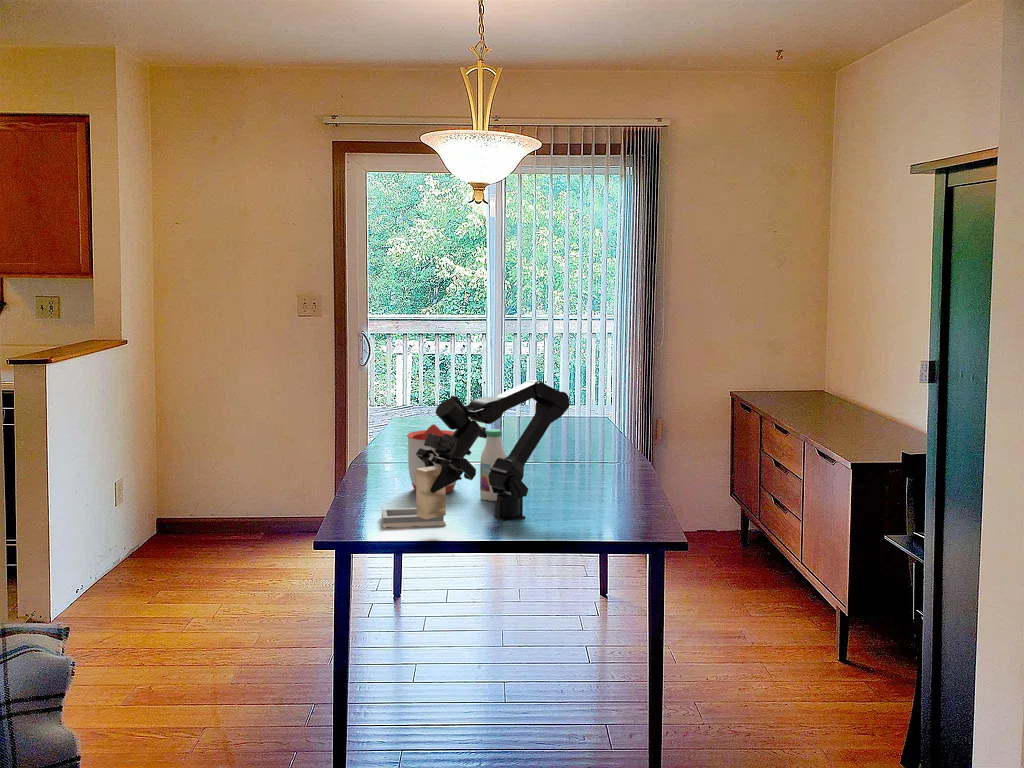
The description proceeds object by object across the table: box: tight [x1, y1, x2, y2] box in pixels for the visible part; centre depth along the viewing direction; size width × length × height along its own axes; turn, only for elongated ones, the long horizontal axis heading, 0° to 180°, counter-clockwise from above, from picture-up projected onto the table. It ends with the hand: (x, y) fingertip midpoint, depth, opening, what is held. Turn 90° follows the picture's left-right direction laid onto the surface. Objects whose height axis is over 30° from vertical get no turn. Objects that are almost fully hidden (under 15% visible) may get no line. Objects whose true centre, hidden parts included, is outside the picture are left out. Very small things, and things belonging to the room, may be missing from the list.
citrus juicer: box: [406, 423, 457, 494], centre depth 281 cm, size 16×17×20 cm
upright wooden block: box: [415, 465, 447, 519], centre depth 235 cm, size 6×4×12 cm, turn 131°
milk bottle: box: [479, 428, 507, 502], centre depth 272 cm, size 8×8×20 cm
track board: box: [381, 507, 446, 529], centre depth 249 cm, size 16×10×2 cm, turn 100°
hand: (426, 490), depth 234 cm, fingers closed on upright wooden block, 4 cm apart
